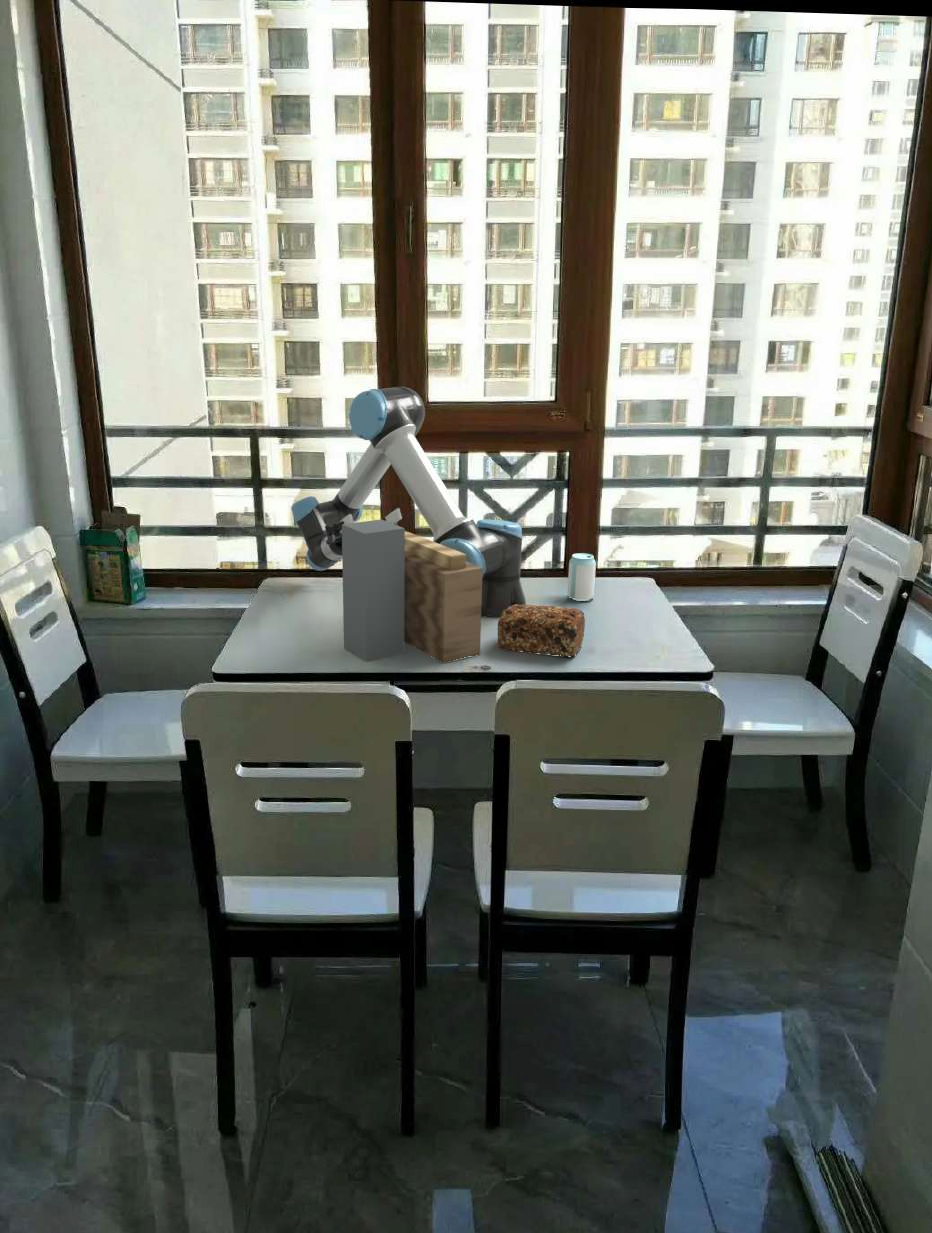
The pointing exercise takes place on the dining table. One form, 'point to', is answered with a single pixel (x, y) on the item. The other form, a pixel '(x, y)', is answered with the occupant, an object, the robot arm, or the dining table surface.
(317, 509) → the robot arm
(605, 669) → the dining table surface
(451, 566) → the oak bar
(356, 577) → the stand
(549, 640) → the bread
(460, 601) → the wood grain brick
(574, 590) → the can
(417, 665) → the dining table surface
